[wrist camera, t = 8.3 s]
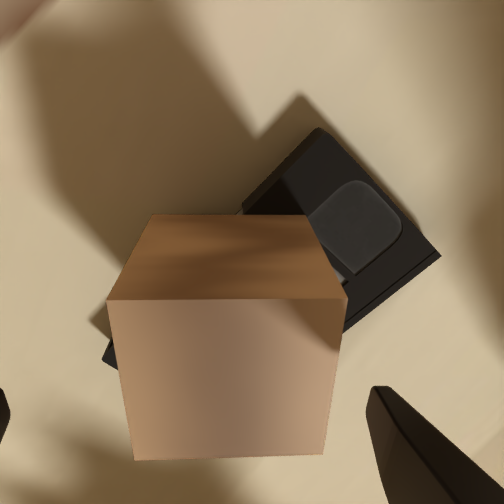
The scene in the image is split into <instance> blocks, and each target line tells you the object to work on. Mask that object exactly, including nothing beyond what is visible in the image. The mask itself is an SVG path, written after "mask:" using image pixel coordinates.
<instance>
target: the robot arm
mask: <svg viewBox="0 0 504 504" xmlns="http://www.w3.org/2000/svg"><path fill="white" fill-rule="evenodd" d="M366 419H367V423H368V427H369V432H370V436H371V440H372V444H373V449H374V453H375V457H376V462H377V466H378V470H379V474H380V478H381V481H382V485H383V488H384V491H385V494H386V497H387V500H388V503H389V504H504V488H502V487H501V486H500V485H499V484H498V483H497V482H496V481H495V480H494V479H492V478H491V477H490V476H489V475H488V474H487V473H486V472H485V471H483V470H482V469H481V468H480V467H479V466H478V465H477V464H476V463H475V462H473V461H472V460H471V459H470V458H469V457H468V456H467V455H466V454H464V453H463V452H462V451H461V450H460V449H459V448H458V447H457V446H456V445H454V444H453V443H452V442H451V441H450V440H449V439H448V438H447V437H445V436H444V435H443V434H442V433H441V432H440V431H439V430H438V429H437V428H435V427H434V426H433V425H432V424H431V423H430V422H429V421H428V420H426V419H425V418H424V417H423V416H422V415H421V414H420V413H419V412H418V411H416V410H415V409H414V408H413V407H412V406H411V405H410V404H409V403H407V402H406V401H405V400H404V399H403V398H402V397H401V396H400V395H399V394H397V393H396V392H395V391H394V390H393V389H392V388H390V387H389V386H373V387H372V388H371V391H370V395H369V399H368V403H367V407H366ZM9 420H10V409H9V406H8V403H7V400H6V397H5V394H4V391H3V390H2V389H1V388H0V443H1V441H2V438H3V436H4V433H5V431H6V428H7V426H8V423H9Z"/></svg>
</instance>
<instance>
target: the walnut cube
mask: <svg viewBox="0 0 504 504" xmlns="http://www.w3.org/2000/svg"><path fill="white" fill-rule="evenodd" d="M347 302H348V297H347V295H346V293H345V291H344V289H343V287H342V286H341V284H340V282H339V280H338V278H337V276H336V274H335V272H334V270H333V268H332V266H331V264H330V262H329V260H328V258H327V256H326V254H325V252H324V250H323V248H322V246H321V244H320V242H319V240H318V239H317V237H316V235H315V233H314V231H313V229H312V227H311V225H310V223H309V221H308V219H307V217H306V215H183V214H152V216H151V218H150V220H149V222H148V224H147V225H146V227H145V229H144V231H143V233H142V235H141V237H140V238H139V240H138V242H137V244H136V246H135V248H134V249H133V251H132V253H131V255H130V257H129V259H128V261H127V262H126V264H125V266H124V268H123V270H122V272H121V274H120V275H119V277H118V279H117V281H116V283H115V285H114V286H113V288H112V290H111V292H110V294H109V296H108V298H107V299H106V304H107V309H108V315H109V320H110V326H111V332H112V337H113V343H114V349H115V354H116V360H117V365H118V371H119V377H120V382H121V388H122V393H123V399H124V405H125V410H126V416H127V421H128V427H129V433H130V438H131V444H132V449H133V455H134V461H138V460H169V459H200V458H231V457H262V456H293V455H323V450H324V444H325V438H326V431H327V425H328V419H329V413H330V407H331V401H332V394H333V388H334V382H335V376H336V370H337V363H338V357H339V351H340V345H341V339H342V332H343V326H344V320H345V314H346V308H347Z"/></svg>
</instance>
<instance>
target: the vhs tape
mask: <svg viewBox="0 0 504 504" xmlns="http://www.w3.org/2000/svg"><path fill="white" fill-rule="evenodd" d="M242 206H243V208H242V209H241V210H240V211H239V212H238V213H237V214H236V215H306V217H307V219H308V221H309V223H310V225H311V227H312V229H313V231H314V233H315V235H316V237H317V239H318V240H319V242H320V244H321V246H322V248H323V250H324V252H325V254H326V256H327V258H328V260H329V262H330V264H331V266H332V268H333V270H334V272H335V274H336V276H337V278H338V280H339V282H340V284H341V286H342V287H343V289H344V291H345V293H346V295H347V297H348V302H347V308H346V314H345V320H344V326H343V332H342V334H343V333H344V332H345V331H347V330H348V329H349V328H350V327H352V326H353V325H354V324H356V323H357V322H358V321H359V320H361V319H362V318H363V317H365V316H366V315H367V314H368V313H370V312H371V311H372V310H373V309H375V308H376V307H377V306H379V305H380V304H381V303H382V302H384V301H385V300H386V299H388V298H389V297H390V296H391V295H393V294H394V293H395V292H396V291H398V290H399V289H400V288H402V287H403V286H404V285H405V284H407V283H408V282H409V281H411V280H412V279H413V278H414V277H416V276H417V275H418V274H419V273H421V272H422V271H423V270H425V269H426V268H427V267H428V266H430V265H431V264H432V263H434V262H435V261H436V260H437V259H439V258H440V257H441V255H440V253H439V252H438V251H437V250H436V249H435V248H434V247H433V246H432V244H431V243H430V242H429V241H428V240H427V239H426V238H425V237H424V236H423V234H422V233H421V232H420V231H419V230H418V229H417V228H416V227H415V226H414V224H413V223H412V222H411V221H410V220H409V219H408V218H407V217H406V216H405V215H404V214H403V212H402V211H401V210H400V209H399V208H398V207H397V206H396V205H395V204H394V203H393V202H392V200H391V199H390V198H389V197H388V196H387V195H386V194H385V193H384V192H383V191H382V190H381V188H380V187H379V186H378V185H377V184H376V183H375V182H374V181H373V180H372V179H371V177H370V176H369V175H368V174H367V173H366V172H365V171H364V170H363V169H362V168H361V167H360V165H359V164H358V163H357V162H356V161H355V160H354V159H353V158H352V157H351V156H350V155H349V154H348V153H347V152H346V151H345V149H344V148H343V147H342V146H341V145H340V144H339V143H338V142H337V141H336V140H335V139H334V138H333V137H332V136H331V135H330V134H329V133H327V132H326V131H324V130H323V129H322V128H319V127H318V128H316V129H314V130H313V131H312V132H311V133H310V134H309V135H308V136H307V138H306V139H305V140H304V141H303V142H302V143H301V144H300V145H299V146H298V147H297V148H296V149H295V150H294V151H293V152H292V153H291V154H290V155H289V156H288V157H287V158H286V159H285V160H284V161H283V162H282V163H281V164H280V165H279V166H278V167H277V168H276V169H275V170H274V171H273V172H272V173H271V174H270V175H269V176H268V177H267V178H266V180H265V181H264V182H263V183H262V184H261V185H260V186H259V187H258V188H257V189H256V190H255V191H254V192H253V193H252V194H251V195H250V196H249V197H248V198H247V199H246V200H245V201H244V202H243V203H242ZM102 361H103V362H105V363H107V364H108V365H110V366H112V367H113V368H115V369H117V370H118V365H117V360H116V354H115V349H114V343H113V337H111V339H110V342H109V344H108V346H107V348H106V350H105V353H104V355H103V357H102Z"/></svg>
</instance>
